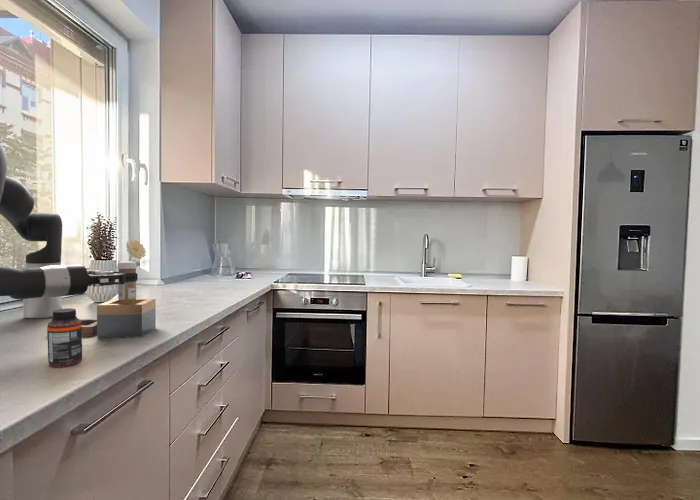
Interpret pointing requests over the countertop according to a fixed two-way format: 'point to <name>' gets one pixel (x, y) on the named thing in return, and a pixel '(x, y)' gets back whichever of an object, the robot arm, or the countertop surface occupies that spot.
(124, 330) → the grey wooden square box
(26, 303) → the robot arm
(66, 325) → the supplement bottle
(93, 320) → the walnut stand
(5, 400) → the countertop surface
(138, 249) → the flower in vase
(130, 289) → the seasoning jar
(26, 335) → the countertop surface
